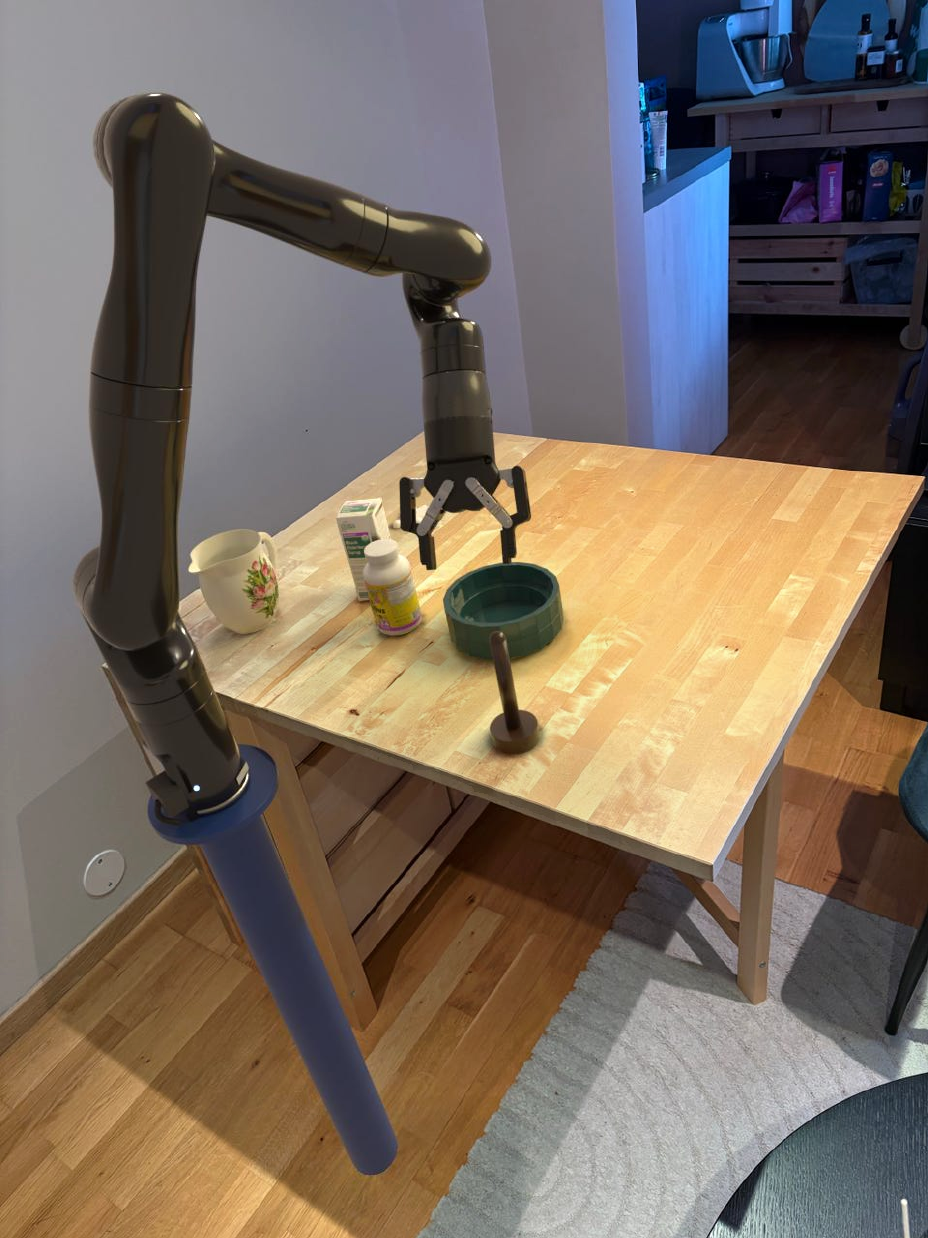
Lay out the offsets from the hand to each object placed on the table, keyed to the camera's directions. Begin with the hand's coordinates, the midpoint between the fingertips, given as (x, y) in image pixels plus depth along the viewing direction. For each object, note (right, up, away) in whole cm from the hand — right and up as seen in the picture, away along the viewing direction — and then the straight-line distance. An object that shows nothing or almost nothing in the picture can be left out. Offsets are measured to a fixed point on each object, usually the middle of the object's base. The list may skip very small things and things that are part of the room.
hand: (469, 566), depth 101 cm
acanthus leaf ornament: (-9, +11, +57) cm, 59 cm away
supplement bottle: (-10, -7, +31) cm, 33 cm away
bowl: (+5, -7, +25) cm, 27 cm away
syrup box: (-13, -2, +40) cm, 42 cm away
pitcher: (-32, -6, +39) cm, 51 cm away
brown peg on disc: (+6, -20, +6) cm, 21 cm away
